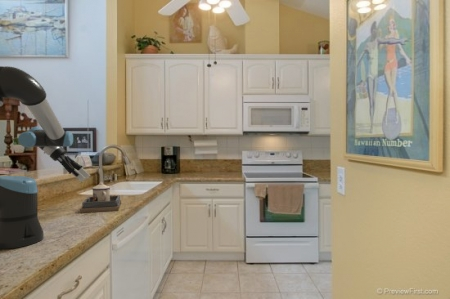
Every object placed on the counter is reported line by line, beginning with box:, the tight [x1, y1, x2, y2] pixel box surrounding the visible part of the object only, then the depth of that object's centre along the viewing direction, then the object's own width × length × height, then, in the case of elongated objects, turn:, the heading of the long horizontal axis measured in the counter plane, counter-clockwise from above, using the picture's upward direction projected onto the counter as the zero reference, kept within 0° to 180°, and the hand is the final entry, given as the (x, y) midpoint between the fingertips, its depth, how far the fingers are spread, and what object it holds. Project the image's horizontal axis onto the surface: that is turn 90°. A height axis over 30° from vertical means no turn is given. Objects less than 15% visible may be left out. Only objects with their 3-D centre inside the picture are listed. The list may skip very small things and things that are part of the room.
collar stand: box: [80, 194, 122, 214], centre depth 156 cm, size 20×18×5 cm
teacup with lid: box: [91, 182, 111, 202], centre depth 156 cm, size 12×9×12 cm
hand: (86, 178), depth 154 cm, fingers open, 13 cm apart
